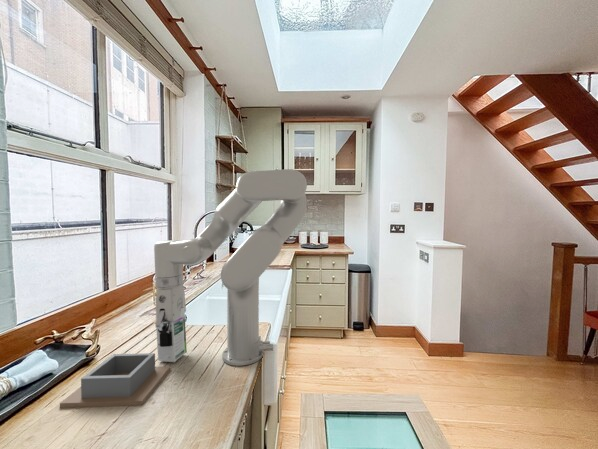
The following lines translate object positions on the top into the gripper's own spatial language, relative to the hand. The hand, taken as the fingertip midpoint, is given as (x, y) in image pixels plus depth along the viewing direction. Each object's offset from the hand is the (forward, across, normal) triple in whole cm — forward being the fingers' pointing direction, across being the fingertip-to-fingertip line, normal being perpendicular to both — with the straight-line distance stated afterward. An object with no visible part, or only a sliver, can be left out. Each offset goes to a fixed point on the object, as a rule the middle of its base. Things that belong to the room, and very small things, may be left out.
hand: (171, 339), depth 78 cm
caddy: (+6, -13, +7) cm, 16 cm away
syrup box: (+5, 0, 0) cm, 5 cm away
